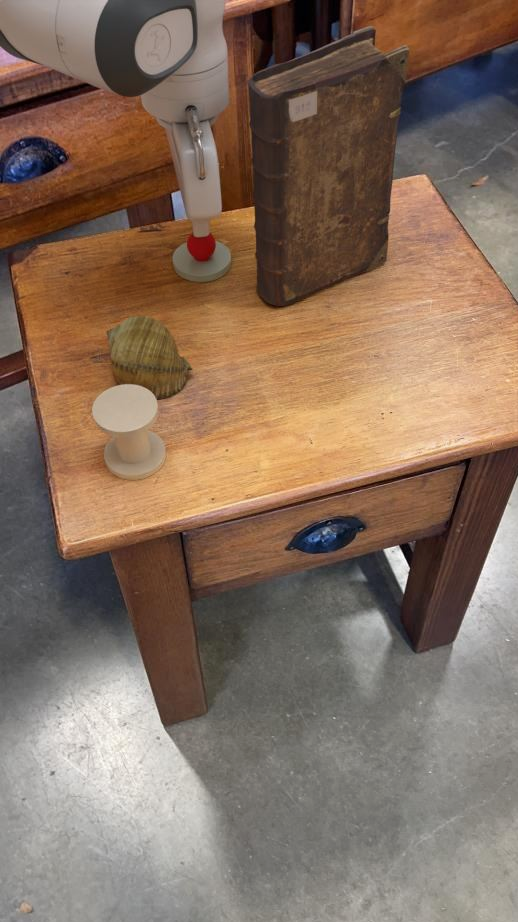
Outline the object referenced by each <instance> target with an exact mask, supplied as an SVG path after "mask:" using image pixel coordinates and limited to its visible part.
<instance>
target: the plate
mask: <svg viewBox="0 0 518 922" xmlns="http://www.w3.org/2000/svg"><path fill="white" fill-rule="evenodd" d="M215 242H216V248H215V251H214V253H213V255H212V256H211V258H210V259H209V260H208V261H205V262H199V261H197V260H195V258H194V257H193V256H192V255H191V254H190V253H189V251H188V249H187V241H186V242H184V243H182V244H180V245H179V246H178V247H177V248H176V249H175V250H174V252H173V254H172V257H171V258H172V266H173V267H172V268H173V269H174V272H175V273H176V274H177V275H178V276H179V277H181V278H182V279H184V280H187V281H189V282H195V283H208V282H213V281H215V280H218V279H220V278H223V277H224V276H225V275H226V274H227V273H228V272H229V271H230V269H231V267H232V263H233V261H232V253H231V250H230V249H229V248H228V246H226V245H225V244H224V243H222V242H221V241H217V240H215Z"/></svg>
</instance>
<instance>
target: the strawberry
mask: <svg viewBox="0 0 518 922" xmlns="http://www.w3.org/2000/svg"><path fill="white" fill-rule="evenodd" d="M191 230H192V229H191ZM215 241H216V238H215V237H214V235H213V234H212V233H211V232H210V233H209V235H208V236H205V237H195V236H194V235H193V230H192V232H191V233H190V234H189V235H188V237H187V240H186V242H187V249H188V251H189V253H190V254H191V255H192V256H193V257H194V258H195V260H197V261H199V262H205V261H208V260H209V259H210V258H211V256H212V255H213V253H214V251H215V248H216V242H215Z"/></svg>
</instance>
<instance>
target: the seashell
mask: <svg viewBox="0 0 518 922" xmlns="http://www.w3.org/2000/svg"><path fill="white" fill-rule="evenodd" d="M106 336H107V341H108V351H109V353H110V362H111V368H112V369H111V370H112V372H113V374H114V376H115V380H116V381H117V383H118V385H123V384H134V385H139V386H142V387H144V388H146V389H148V390H149V391H151V392H152V393H153V394H154V396H155V397H156V399H157V400H163V399H165V398H169V397H172V396H173V395H176V394H178V393H179V392H180V393H181V391H182V388H183V387H184V384H185V382H186V380H187V372H188V371H193V367H192V365H191V364H190V362H189V361H188V359H186V358H185V357H183V356H180V353H179V349H178V346H177V343H176V342H175V339H174V336H173V335H172V333H171V331H170V330H169V329H168V328H167V327H166V326H165V324H163V323H162V322H160V321H159V320H157V319H156V318H154V317H151V316H147V315H133V316H130V317H128V318H126V319H124V320H123V321H122V323H121V324H118V325H115V326H113V328H110V329H109V330H107V331H106Z"/></svg>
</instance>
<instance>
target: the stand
mask: <svg viewBox="0 0 518 922" xmlns="http://www.w3.org/2000/svg"><path fill="white" fill-rule="evenodd" d="M91 407H92V408H91V414H92V420H93V422H94V424H95V426H96V428H97V429H99V430H100V431H101V432H102V433H104V434H105V435H107V436H111V438H109V440H108V441H107V443H106V445H105V446H104V449H103V459H104V463H105V467H106V468H107V470H108V471H109V472H110V473H111V474H112V475H114V476H115V477H116V478H119V479H122V480H128V481H137V480H138V481H139V480H143V479H147V478H149V477H151V476H153V475H154V474H156V473H157V472H158V471H160V469H161V468H163V466H164V464H165V462H166V459H167V450H166V444H165V442H164V440H163V439H162V438H161V436H160V435H159V434H157V433H156V432H155V431H152V430H150V429H151V428H152V427H153V426H154V424H155V423H156V422H157V420H158V417H159V409H160V408H159V404H158V399H156V397H155V396H154V394H153V393H152V392H151V391H149V390H148V389H146V388H144V387H142V386H139V385H134V384H123V385H119V384H117V385H114V386H111V387H109V388H107V389H105V390H104V391H102V392H101V393H100V394H99V395H97V397H96V398H95V399H94V402H93V404H92V406H91Z"/></svg>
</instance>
